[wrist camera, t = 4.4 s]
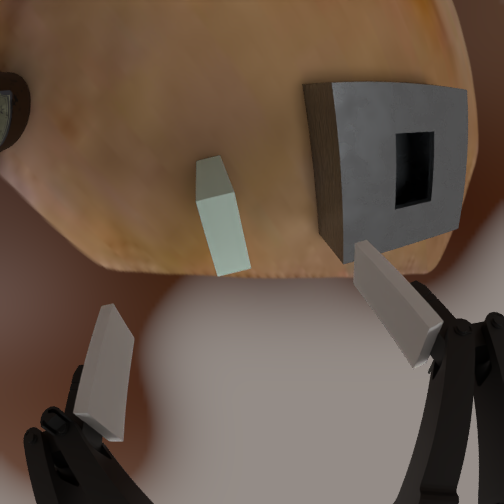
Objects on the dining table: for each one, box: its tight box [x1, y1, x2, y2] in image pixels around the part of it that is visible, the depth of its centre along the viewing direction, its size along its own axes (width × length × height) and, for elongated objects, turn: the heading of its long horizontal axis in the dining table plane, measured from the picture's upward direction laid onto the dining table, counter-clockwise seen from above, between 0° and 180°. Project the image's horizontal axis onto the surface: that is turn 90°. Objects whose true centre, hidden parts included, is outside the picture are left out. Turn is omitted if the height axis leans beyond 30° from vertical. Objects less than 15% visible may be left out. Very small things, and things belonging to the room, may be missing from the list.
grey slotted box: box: [302, 81, 468, 264], centre depth 28 cm, size 18×18×7 cm
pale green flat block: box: [196, 155, 251, 276], centre depth 24 cm, size 2×6×12 cm, turn 10°
